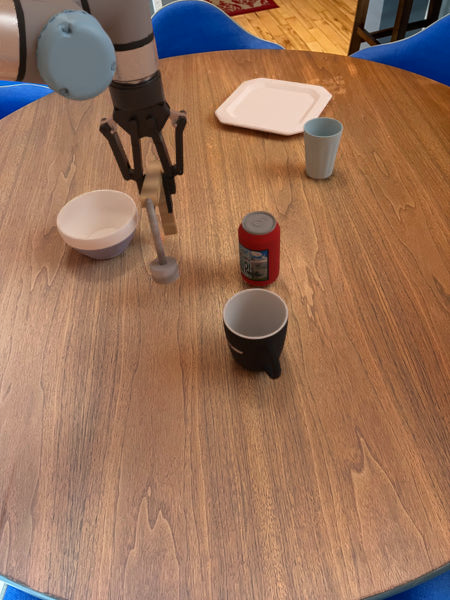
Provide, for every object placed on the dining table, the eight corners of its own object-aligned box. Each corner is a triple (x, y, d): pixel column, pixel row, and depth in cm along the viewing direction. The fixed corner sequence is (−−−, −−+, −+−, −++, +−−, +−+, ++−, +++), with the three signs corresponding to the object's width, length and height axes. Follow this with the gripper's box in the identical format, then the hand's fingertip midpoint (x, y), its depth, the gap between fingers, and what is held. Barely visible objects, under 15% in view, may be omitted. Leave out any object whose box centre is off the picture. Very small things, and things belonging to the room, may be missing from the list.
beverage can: (232, 275, 84) (228, 222, 75) (260, 256, 86) (258, 202, 77) (260, 296, 80) (258, 242, 71) (287, 275, 83) (289, 221, 74)
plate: (248, 83, 132) (248, 75, 130) (336, 96, 124) (337, 87, 122) (207, 126, 118) (206, 118, 116) (303, 145, 110) (303, 136, 108)
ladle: (179, 282, 75) (161, 200, 67) (151, 286, 75) (130, 205, 67) (182, 230, 90) (168, 158, 82) (159, 233, 90) (143, 162, 82)
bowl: (93, 215, 98) (82, 183, 92) (157, 227, 94) (149, 195, 88) (53, 263, 89) (39, 231, 83) (122, 278, 85) (112, 246, 79)
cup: (304, 159, 106) (307, 115, 98) (339, 164, 104) (345, 118, 96) (297, 179, 101) (299, 134, 93) (333, 184, 99) (339, 138, 91)
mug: (218, 342, 74) (212, 299, 67) (271, 324, 76) (271, 280, 68) (248, 406, 67) (245, 366, 59) (306, 384, 68) (311, 342, 61)
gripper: (188, 56, 68) (205, 192, 86) (81, 66, 68) (119, 200, 86) (189, 79, 63) (206, 218, 81) (73, 90, 64) (116, 227, 81)
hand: (161, 209), depth 84 cm, fingers closed on ladle, 2 cm apart
